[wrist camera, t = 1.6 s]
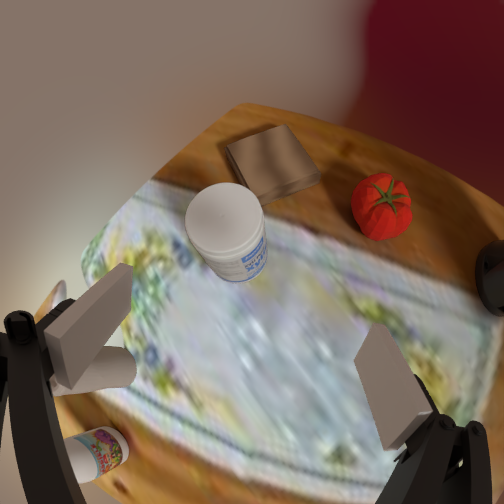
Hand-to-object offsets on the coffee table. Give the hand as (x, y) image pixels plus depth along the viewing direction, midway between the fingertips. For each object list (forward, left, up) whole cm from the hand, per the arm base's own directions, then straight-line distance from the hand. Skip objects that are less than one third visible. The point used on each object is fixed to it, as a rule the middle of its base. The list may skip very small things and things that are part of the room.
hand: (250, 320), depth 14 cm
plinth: (-13, -27, -29) cm, 42 cm away
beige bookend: (+29, -5, -30) cm, 42 cm away
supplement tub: (-1, -14, -30) cm, 33 cm away
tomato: (-25, -10, -30) cm, 40 cm away
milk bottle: (+34, +9, -30) cm, 46 cm away
